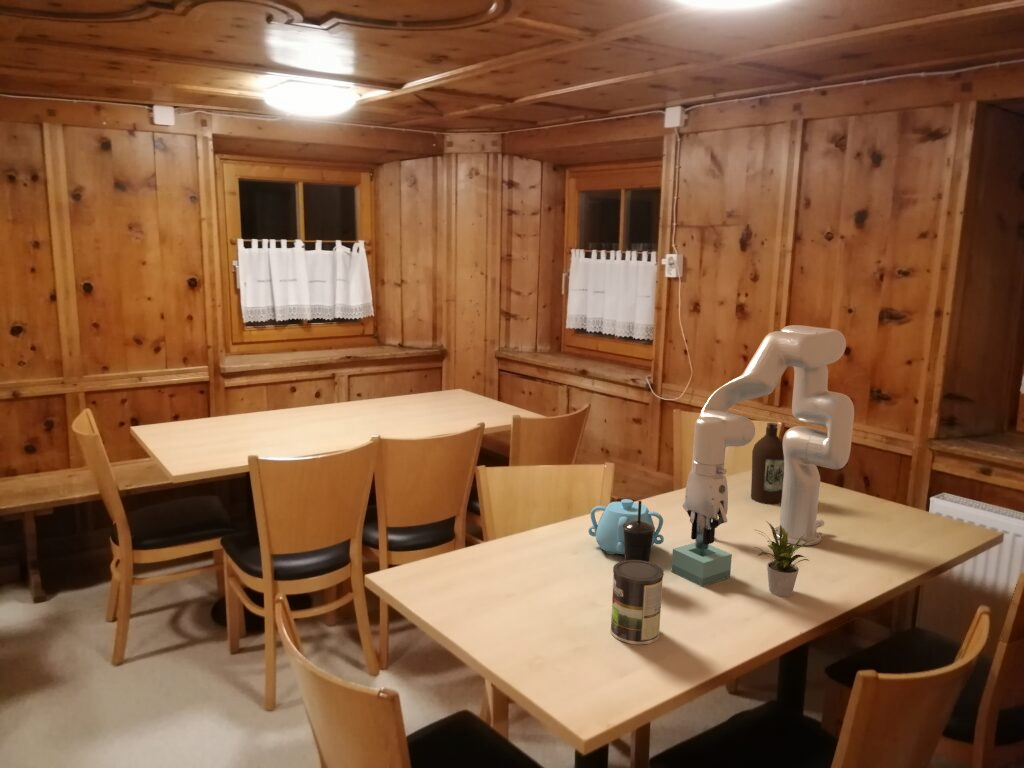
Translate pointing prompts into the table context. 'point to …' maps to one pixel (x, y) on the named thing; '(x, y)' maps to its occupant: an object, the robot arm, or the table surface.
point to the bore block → (701, 564)
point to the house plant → (782, 564)
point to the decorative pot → (620, 524)
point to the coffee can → (636, 601)
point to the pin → (700, 532)
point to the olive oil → (768, 468)
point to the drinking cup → (638, 538)
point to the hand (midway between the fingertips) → (702, 540)
